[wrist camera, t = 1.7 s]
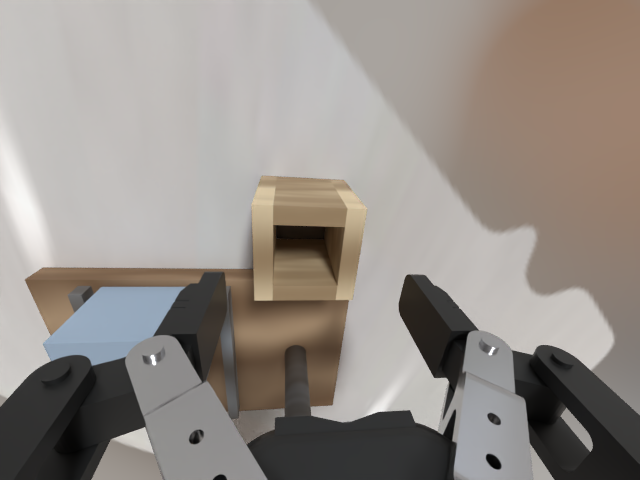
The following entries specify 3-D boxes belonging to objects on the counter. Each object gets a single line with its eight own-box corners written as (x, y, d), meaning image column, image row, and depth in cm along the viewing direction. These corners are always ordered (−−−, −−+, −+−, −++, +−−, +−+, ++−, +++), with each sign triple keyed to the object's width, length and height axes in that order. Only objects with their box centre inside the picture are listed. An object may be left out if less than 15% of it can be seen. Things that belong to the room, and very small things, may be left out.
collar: (261, 175, 18) (251, 204, 13) (344, 180, 19) (367, 209, 13) (262, 250, 20) (254, 300, 15) (335, 251, 21) (352, 299, 16)
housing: (101, 286, 18) (42, 343, 14) (208, 286, 19) (185, 340, 15) (121, 350, 21) (78, 415, 17) (215, 347, 22) (198, 408, 18)
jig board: (43, 267, 19) (-118, 373, 11) (347, 270, 22) (380, 354, 14) (100, 403, 26) (21, 529, 18) (330, 391, 29) (346, 493, 21)
